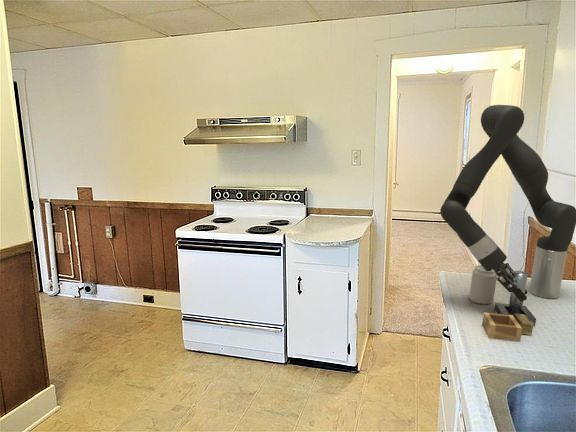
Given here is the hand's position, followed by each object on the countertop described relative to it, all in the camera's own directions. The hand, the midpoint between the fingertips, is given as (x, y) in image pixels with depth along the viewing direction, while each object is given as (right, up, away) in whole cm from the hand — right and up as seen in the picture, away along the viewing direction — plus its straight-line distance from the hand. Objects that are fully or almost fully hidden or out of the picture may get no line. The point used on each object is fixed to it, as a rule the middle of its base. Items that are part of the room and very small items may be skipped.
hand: (524, 296), depth 125 cm
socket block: (-2, -7, +3) cm, 8 cm away
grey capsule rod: (-2, -7, +3) cm, 8 cm away
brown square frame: (-11, -9, -6) cm, 16 cm away
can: (-7, -4, +15) cm, 17 cm away
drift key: (-3, -8, -4) cm, 10 cm away
